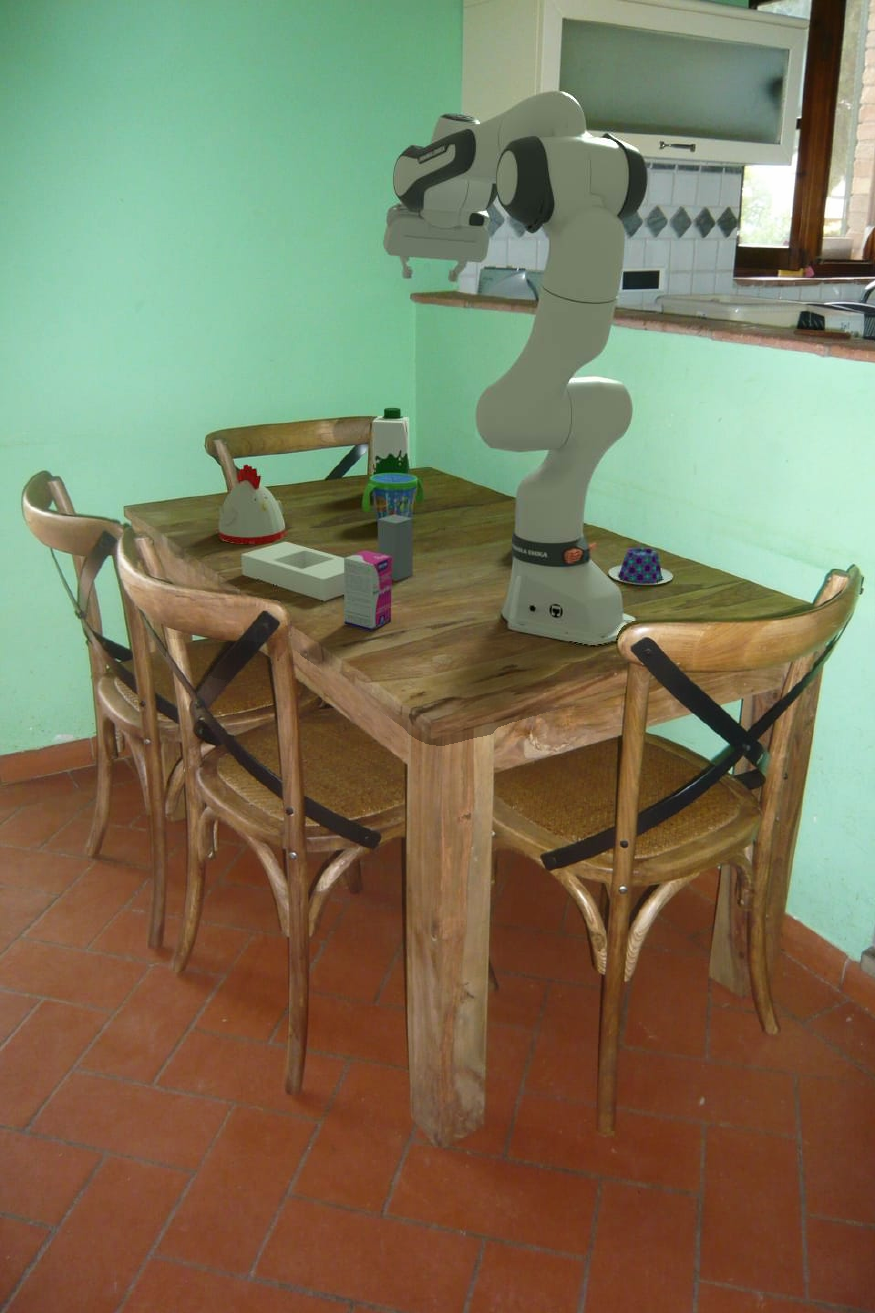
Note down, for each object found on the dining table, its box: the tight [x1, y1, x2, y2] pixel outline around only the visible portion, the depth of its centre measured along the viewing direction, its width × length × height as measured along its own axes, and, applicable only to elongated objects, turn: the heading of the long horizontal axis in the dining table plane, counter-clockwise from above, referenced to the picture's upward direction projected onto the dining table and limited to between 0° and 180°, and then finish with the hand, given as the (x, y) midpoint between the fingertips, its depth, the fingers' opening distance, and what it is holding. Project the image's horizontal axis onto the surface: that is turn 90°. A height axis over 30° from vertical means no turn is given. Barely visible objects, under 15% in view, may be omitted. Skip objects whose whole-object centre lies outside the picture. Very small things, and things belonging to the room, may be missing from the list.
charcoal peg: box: [377, 514, 414, 582], centre depth 184 cm, size 4×4×11 cm
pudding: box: [608, 547, 674, 586], centre depth 186 cm, size 12×12×5 cm
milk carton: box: [371, 407, 411, 476], centre depth 241 cm, size 9×9×20 cm
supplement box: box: [343, 550, 393, 632], centre depth 162 cm, size 6×6×12 cm
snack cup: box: [361, 473, 425, 522], centre depth 218 cm, size 16×10×10 cm
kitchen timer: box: [218, 464, 286, 545], centre depth 207 cm, size 14×14×15 cm
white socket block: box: [240, 541, 345, 602], centre depth 183 cm, size 22×11×4 cm, turn 50°
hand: (429, 278), depth 194 cm, fingers open, 8 cm apart
